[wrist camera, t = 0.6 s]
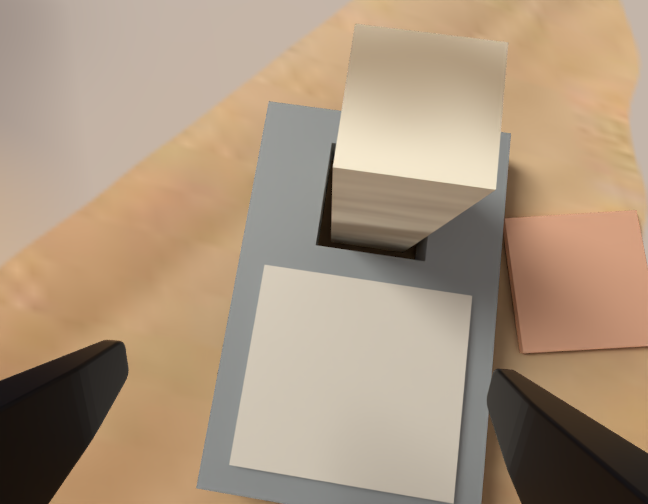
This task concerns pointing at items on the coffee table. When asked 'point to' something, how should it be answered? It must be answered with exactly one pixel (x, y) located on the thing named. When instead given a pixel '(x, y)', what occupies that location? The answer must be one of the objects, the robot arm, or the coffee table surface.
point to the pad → (578, 281)
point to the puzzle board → (352, 345)
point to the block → (415, 134)
